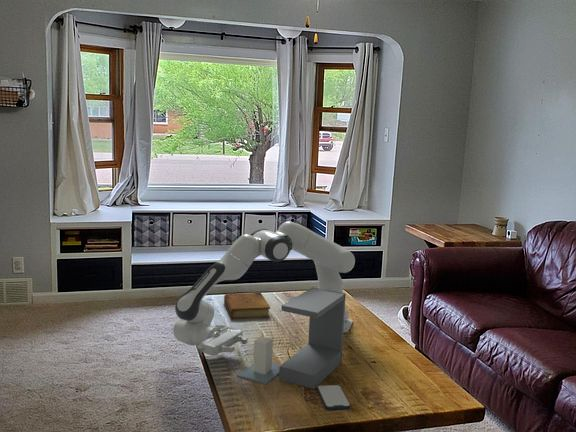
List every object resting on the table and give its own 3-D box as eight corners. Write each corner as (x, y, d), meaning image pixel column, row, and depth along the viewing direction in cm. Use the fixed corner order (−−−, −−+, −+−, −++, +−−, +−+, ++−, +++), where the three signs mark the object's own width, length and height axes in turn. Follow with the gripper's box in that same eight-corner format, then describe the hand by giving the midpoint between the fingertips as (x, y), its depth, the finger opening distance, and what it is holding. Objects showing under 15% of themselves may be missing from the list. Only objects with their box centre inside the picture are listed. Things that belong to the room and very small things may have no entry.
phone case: (315, 389, 198) (325, 411, 183) (315, 385, 198) (325, 407, 182) (339, 388, 200) (351, 410, 184) (340, 384, 200) (352, 406, 184)
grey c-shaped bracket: (309, 354, 226) (312, 287, 222) (341, 362, 220) (345, 293, 215) (278, 379, 204) (281, 305, 199) (313, 388, 197) (317, 312, 193)
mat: (259, 360, 219) (259, 359, 218) (286, 367, 213) (286, 366, 213) (237, 376, 205) (237, 374, 204) (265, 384, 199) (265, 382, 199)
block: (260, 366, 212) (261, 336, 210) (271, 369, 210) (272, 339, 208) (253, 371, 208) (254, 340, 206) (265, 374, 206) (266, 343, 203)
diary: (224, 304, 284) (224, 293, 283) (260, 303, 289) (260, 292, 288) (230, 320, 262) (231, 308, 261) (269, 318, 267) (270, 306, 266)
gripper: (193, 339, 208) (224, 347, 202) (224, 322, 226) (254, 329, 220) (193, 355, 210) (224, 363, 203) (224, 337, 227) (253, 344, 221)
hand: (240, 345), depth 212 cm, fingers open, 8 cm apart
